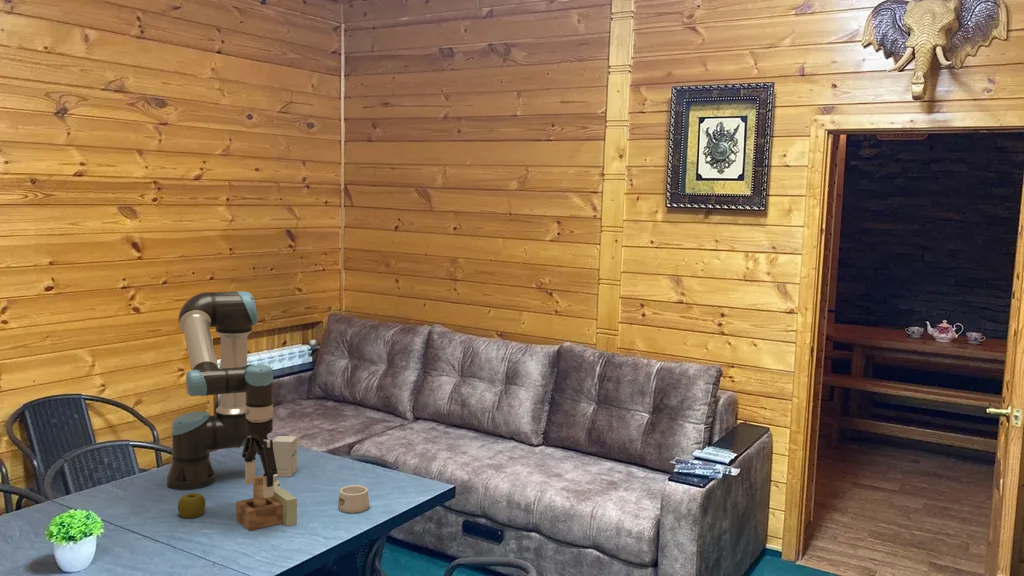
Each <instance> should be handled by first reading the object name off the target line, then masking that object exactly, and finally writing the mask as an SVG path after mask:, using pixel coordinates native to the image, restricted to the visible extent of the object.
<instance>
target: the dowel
mask: <svg viewBox="0 0 1024 576" xmlns="http://www.w3.org/2000/svg"><path fill="white" fill-rule="evenodd" d="M252 484H253V490H252V491H253V493H252V495H253V497H252V498H253V508H256V507H261V506H265V505H266V498H264V497H263V476H262V475H259V476H255V477H254V483H252Z"/></svg>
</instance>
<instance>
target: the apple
mask: <svg viewBox="0 0 1024 576" xmlns="http://www.w3.org/2000/svg"><path fill="white" fill-rule="evenodd" d="M206 502H207V501H206V499H205V497H204V495H202V494H201V493H199V492H198V493H197V492H196V493H195V492H192V493H191V492H190V493H186V494H184V495H182V496H181V497H180V498H179V500H178V503H177V509H178V514H179V515H180V517H181V518H183V519H194V518H197V517H198V518H199V517H200V516H202V515H203V514H204V512H205V508H206V504H207V503H206Z"/></svg>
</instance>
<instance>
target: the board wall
mask: <svg viewBox="0 0 1024 576" xmlns="http://www.w3.org/2000/svg"><path fill="white" fill-rule="evenodd" d="M272 497H273V498H274V499H275V500H277V501H278V502H280V503H281V504H282V505H283V523H282V524H283V525H284V526H286V527H291V526H295V525H297V522H298V519H297V518H298V513H297V512H298V508H297V506H298V503H297V502H298V499H297V497H295V496H294V495H292V493H290V492H289V491H287V490H286V489H284V488H283V487H281V486H280V485H279V486H278V485H277V484H275V483H274V496H272Z"/></svg>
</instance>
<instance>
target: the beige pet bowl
mask: <svg viewBox="0 0 1024 576" xmlns="http://www.w3.org/2000/svg"><path fill="white" fill-rule="evenodd" d="M337 501H338V502H337V508H338V510H339V511H340V512H342V513H345V514H357V513H358V514H359V513H362V512H365V511H366V510H368V508H369V507H370V498H369V489H368V488H367V487H366V486H364V485H358V484H356V485H355V484H353V485H347V486H343V487H341V488H340V489H339V493H338V500H337Z"/></svg>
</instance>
